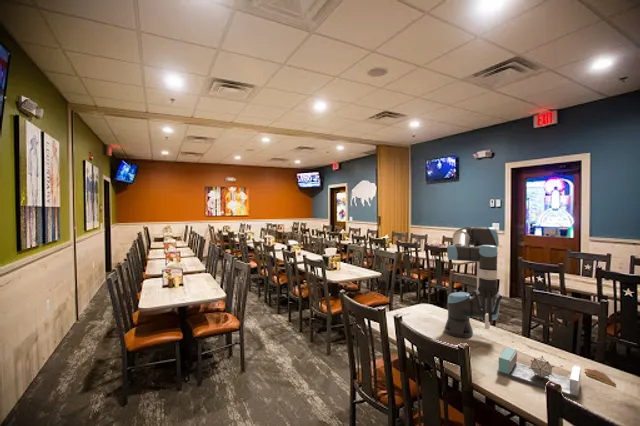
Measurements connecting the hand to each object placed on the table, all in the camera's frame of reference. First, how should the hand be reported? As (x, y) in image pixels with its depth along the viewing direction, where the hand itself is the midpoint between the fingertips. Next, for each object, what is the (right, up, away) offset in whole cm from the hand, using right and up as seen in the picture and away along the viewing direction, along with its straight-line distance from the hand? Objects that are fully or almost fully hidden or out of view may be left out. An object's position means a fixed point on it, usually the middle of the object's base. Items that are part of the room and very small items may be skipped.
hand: (487, 327), depth 146 cm
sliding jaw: (+6, -16, -5) cm, 18 cm away
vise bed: (+15, -17, -13) cm, 26 cm away
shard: (+44, -18, -11) cm, 48 cm away
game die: (+16, -16, -14) cm, 26 cm away
